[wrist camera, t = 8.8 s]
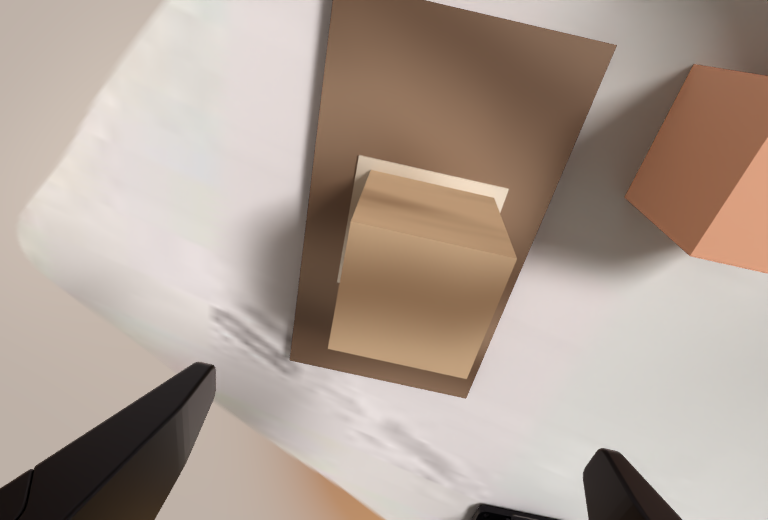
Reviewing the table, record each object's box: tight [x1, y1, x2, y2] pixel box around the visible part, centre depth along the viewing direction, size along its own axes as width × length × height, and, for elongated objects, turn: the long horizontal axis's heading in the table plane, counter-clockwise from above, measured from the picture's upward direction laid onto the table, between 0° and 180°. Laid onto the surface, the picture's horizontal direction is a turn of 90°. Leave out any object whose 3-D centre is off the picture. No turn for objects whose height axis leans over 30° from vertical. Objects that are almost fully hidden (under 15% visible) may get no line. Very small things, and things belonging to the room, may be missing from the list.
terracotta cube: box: [624, 64, 768, 273], centre depth 14 cm, size 5×5×5 cm
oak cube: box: [328, 170, 517, 379], centre depth 16 cm, size 5×5×5 cm
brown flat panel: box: [290, 0, 617, 398], centre depth 18 cm, size 17×10×1 cm, turn 169°
